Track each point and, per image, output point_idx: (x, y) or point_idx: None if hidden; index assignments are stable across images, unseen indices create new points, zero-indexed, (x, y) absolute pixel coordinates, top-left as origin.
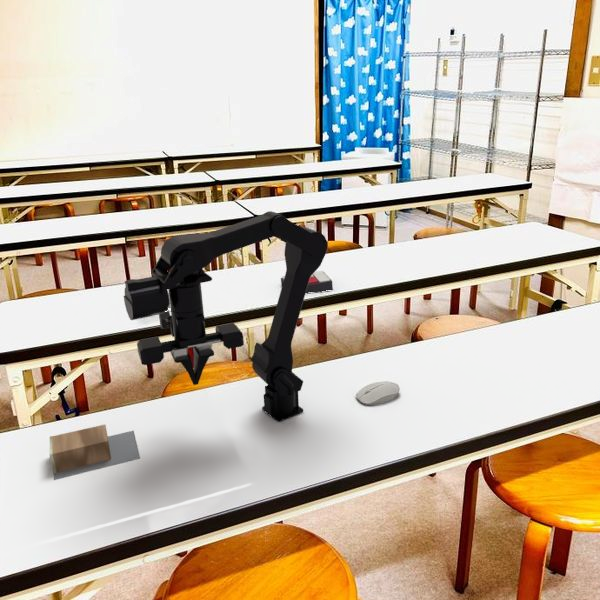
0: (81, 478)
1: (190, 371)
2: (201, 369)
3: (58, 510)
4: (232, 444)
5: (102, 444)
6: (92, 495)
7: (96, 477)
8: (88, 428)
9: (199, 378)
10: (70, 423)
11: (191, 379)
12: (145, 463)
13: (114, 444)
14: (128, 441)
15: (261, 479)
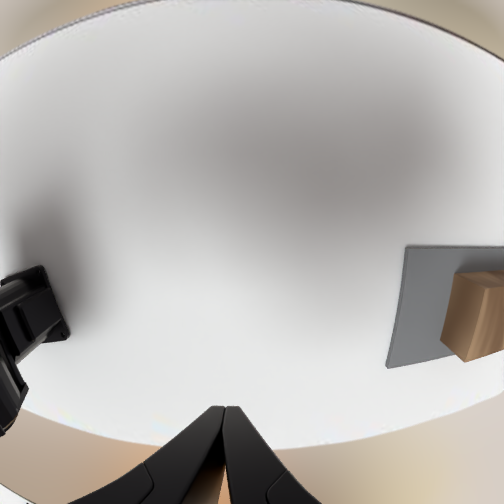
0: (493, 238)
1: (267, 486)
2: (145, 475)
3: None
4: (159, 216)
5: (489, 285)
6: (486, 173)
7: (477, 227)
8: (488, 353)
9: (191, 426)
10: (451, 411)
11: (256, 431)
12: (398, 230)
13: (434, 327)
14: (410, 330)
15: (140, 50)
